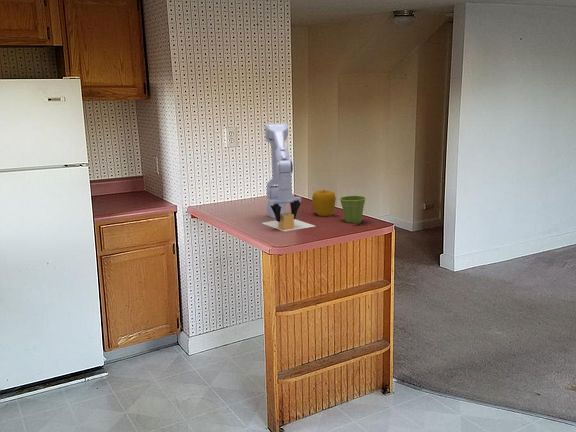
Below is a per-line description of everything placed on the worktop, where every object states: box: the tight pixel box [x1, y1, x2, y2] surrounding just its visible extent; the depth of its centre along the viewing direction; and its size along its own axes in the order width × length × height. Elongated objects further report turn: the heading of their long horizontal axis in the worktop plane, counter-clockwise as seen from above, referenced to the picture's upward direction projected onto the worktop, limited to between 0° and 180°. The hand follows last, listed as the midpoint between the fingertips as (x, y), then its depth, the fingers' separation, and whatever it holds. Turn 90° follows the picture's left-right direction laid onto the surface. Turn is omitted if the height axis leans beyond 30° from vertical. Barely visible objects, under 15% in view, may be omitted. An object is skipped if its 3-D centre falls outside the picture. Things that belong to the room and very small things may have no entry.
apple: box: [311, 189, 337, 217], centre depth 269 cm, size 11×11×13 cm
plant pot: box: [339, 195, 367, 225], centre depth 255 cm, size 12×12×11 cm
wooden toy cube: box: [278, 211, 294, 230], centre depth 245 cm, size 5×5×6 cm
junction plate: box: [261, 218, 315, 232], centre depth 252 cm, size 20×16×4 cm
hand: (285, 220), depth 245 cm, fingers open, 7 cm apart
